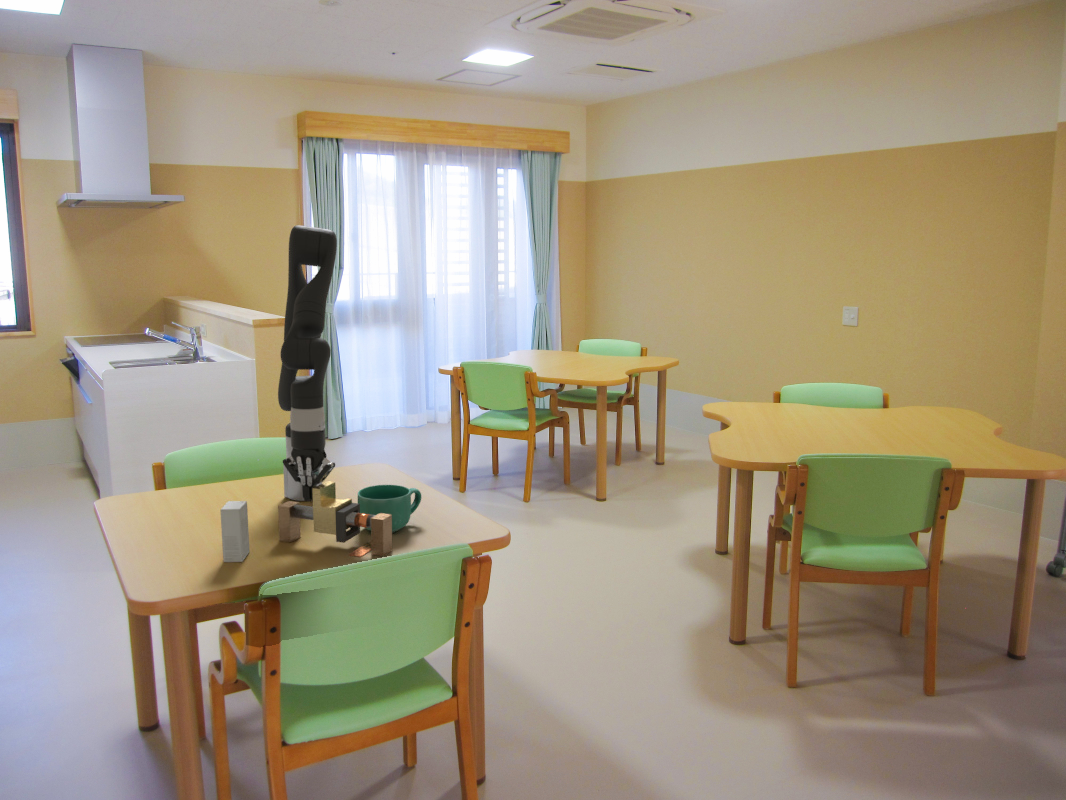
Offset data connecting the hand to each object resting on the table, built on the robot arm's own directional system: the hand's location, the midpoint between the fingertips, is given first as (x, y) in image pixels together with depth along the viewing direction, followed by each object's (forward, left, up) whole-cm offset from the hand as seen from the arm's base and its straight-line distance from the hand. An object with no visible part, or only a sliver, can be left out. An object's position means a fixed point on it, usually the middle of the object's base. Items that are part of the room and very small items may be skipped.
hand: (309, 500), depth 186 cm
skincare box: (-10, -14, -10) cm, 20 cm away
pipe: (+6, 0, -10) cm, 12 cm away
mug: (+12, +16, -10) cm, 23 cm away
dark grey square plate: (+10, 0, -8) cm, 12 cm away
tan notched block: (+6, 0, -6) cm, 8 cm away
